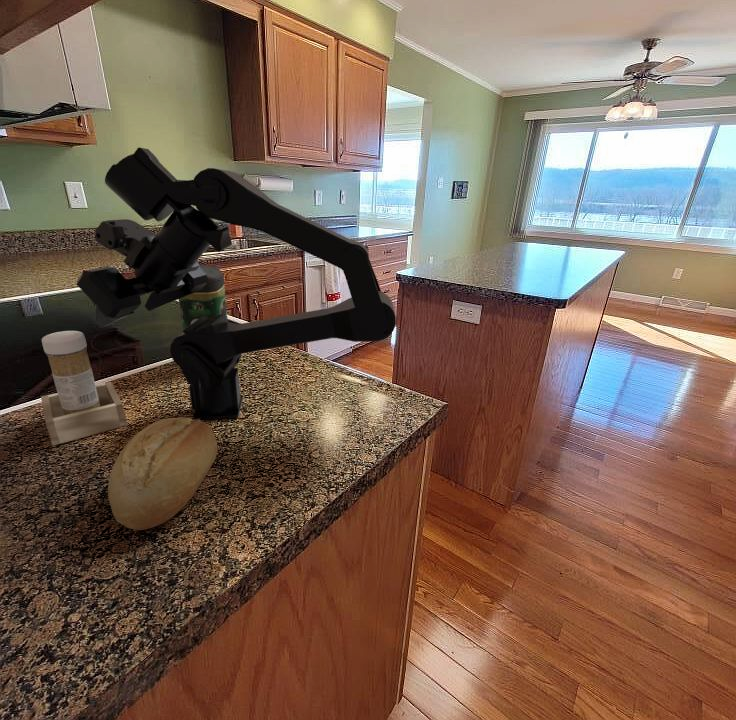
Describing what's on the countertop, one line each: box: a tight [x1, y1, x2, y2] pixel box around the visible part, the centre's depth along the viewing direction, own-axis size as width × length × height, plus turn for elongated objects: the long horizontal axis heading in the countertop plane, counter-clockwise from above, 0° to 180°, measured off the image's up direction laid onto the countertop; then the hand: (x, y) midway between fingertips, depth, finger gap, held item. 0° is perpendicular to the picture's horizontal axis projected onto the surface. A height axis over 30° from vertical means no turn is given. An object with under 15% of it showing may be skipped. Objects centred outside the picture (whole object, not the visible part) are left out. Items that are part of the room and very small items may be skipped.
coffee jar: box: [178, 265, 229, 331], centre depth 76 cm, size 10×8×19 cm
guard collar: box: [40, 381, 128, 446], centre depth 57 cm, size 9×9×4 cm
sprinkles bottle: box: [41, 330, 100, 415], centre depth 54 cm, size 5×5×13 cm
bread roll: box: [107, 417, 218, 532], centre depth 44 cm, size 10×15×8 cm, turn 1°
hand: (124, 316), depth 60 cm, fingers open, 9 cm apart
